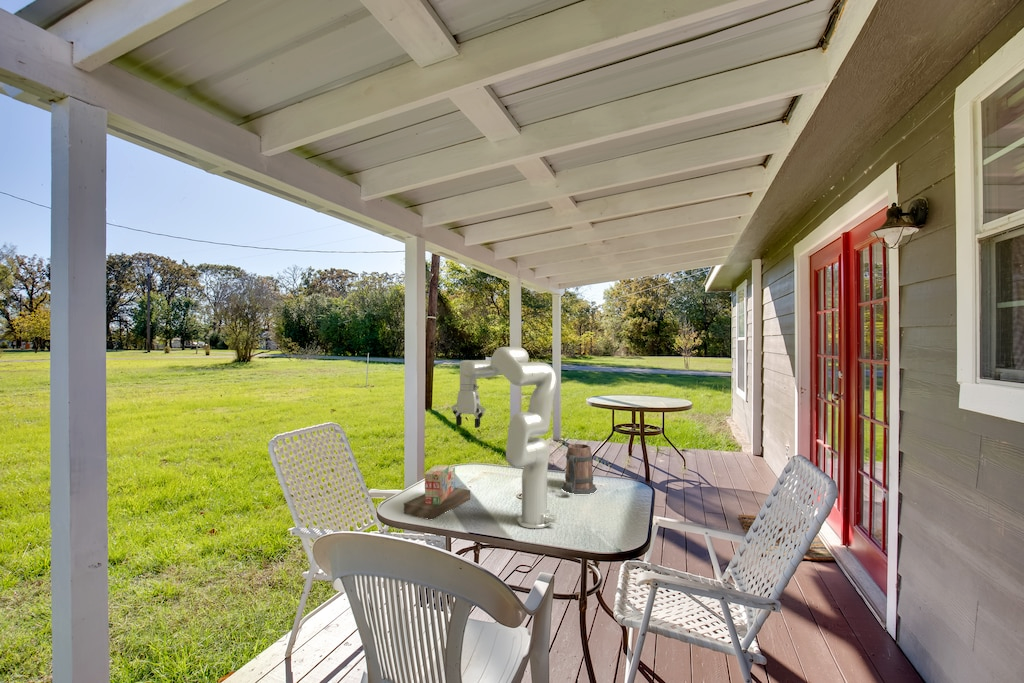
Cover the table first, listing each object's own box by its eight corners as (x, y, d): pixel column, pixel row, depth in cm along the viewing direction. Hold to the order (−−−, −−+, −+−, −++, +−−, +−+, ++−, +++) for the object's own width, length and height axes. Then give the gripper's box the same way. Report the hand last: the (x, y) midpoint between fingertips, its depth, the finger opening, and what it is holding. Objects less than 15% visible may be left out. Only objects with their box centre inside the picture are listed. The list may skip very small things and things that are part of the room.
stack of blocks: (441, 487, 201) (441, 459, 201) (455, 488, 200) (455, 459, 200) (424, 504, 180) (424, 472, 180) (439, 505, 179) (440, 473, 179)
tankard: (567, 481, 223) (567, 440, 223) (601, 486, 215) (602, 444, 215) (550, 496, 202) (550, 450, 202) (587, 502, 194) (587, 455, 194)
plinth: (470, 499, 197) (470, 490, 197) (431, 520, 174) (431, 509, 174) (444, 494, 204) (444, 485, 204) (403, 513, 181) (403, 503, 181)
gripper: (489, 388, 204) (489, 426, 204) (456, 386, 212) (456, 423, 212) (480, 389, 197) (480, 429, 197) (447, 387, 205) (447, 426, 205)
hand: (468, 426), depth 205 cm, fingers open, 9 cm apart
